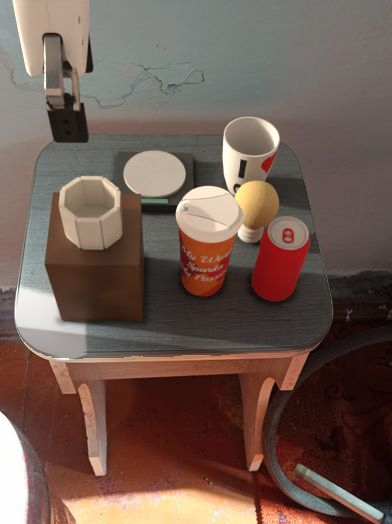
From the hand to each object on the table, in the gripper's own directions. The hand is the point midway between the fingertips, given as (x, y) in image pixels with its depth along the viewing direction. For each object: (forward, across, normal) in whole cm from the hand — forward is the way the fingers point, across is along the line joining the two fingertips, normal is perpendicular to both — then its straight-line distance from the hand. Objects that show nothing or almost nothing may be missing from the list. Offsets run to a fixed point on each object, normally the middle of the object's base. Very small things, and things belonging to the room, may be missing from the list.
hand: (74, 104), depth 54 cm
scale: (+29, -18, +7) cm, 35 cm away
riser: (+29, +2, 0) cm, 29 cm away
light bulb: (+30, -8, +22) cm, 37 cm away
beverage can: (+30, +2, +24) cm, 38 cm away
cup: (+30, -18, +21) cm, 41 cm away
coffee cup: (+30, 0, +14) cm, 33 cm away
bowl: (+16, +2, 0) cm, 16 cm away
